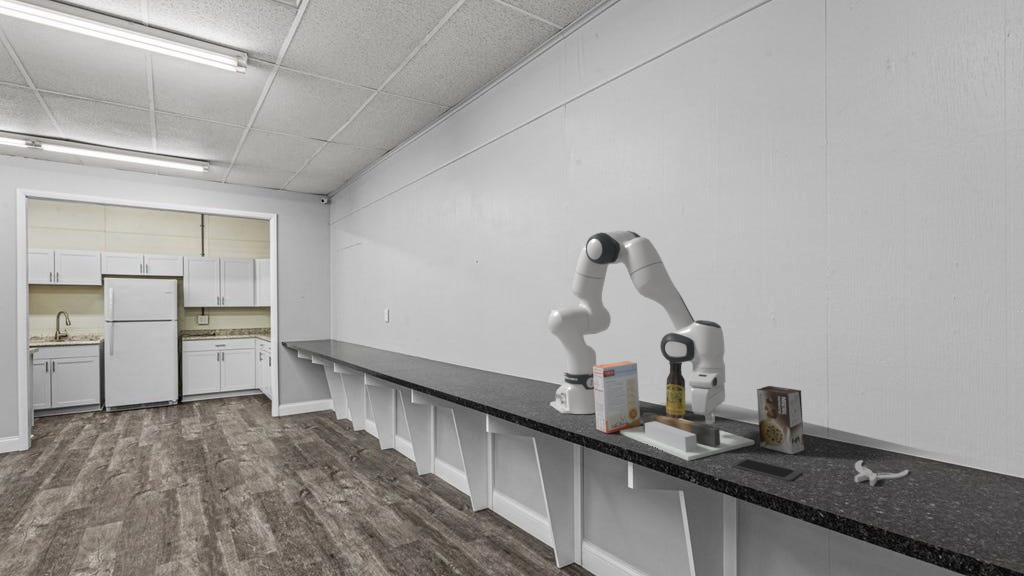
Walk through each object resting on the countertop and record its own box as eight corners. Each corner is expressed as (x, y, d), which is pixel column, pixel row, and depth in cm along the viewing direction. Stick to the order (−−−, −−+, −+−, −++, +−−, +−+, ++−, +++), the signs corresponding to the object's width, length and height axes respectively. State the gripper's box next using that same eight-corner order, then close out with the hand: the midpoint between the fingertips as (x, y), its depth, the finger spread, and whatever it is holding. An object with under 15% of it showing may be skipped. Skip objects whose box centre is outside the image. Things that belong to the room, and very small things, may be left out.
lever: (640, 428, 150) (640, 414, 150) (649, 426, 153) (649, 411, 153) (713, 447, 130) (712, 430, 130) (722, 443, 133) (721, 427, 133)
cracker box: (628, 422, 162) (626, 360, 162) (641, 427, 157) (638, 362, 157) (594, 429, 156) (592, 364, 156) (606, 434, 151) (603, 367, 151)
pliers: (909, 466, 113) (891, 484, 103) (910, 473, 113) (891, 492, 103) (859, 456, 120) (837, 472, 111) (859, 462, 120) (838, 479, 111)
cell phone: (790, 483, 110) (790, 480, 110) (730, 467, 120) (729, 464, 120) (803, 475, 114) (802, 471, 114) (744, 460, 125) (743, 457, 125)
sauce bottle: (664, 419, 165) (661, 360, 165) (669, 414, 170) (667, 358, 170) (683, 421, 161) (681, 361, 161) (688, 416, 167) (686, 359, 167)
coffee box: (805, 450, 130) (802, 390, 130) (791, 455, 126) (788, 393, 126) (772, 441, 137) (769, 385, 137) (758, 446, 134) (756, 388, 134)
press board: (620, 433, 151) (619, 417, 151) (680, 421, 161) (680, 406, 161) (688, 460, 125) (687, 441, 125) (754, 444, 136) (753, 426, 136)
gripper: (708, 369, 152) (709, 413, 152) (686, 381, 136) (687, 430, 136) (729, 371, 148) (731, 416, 148) (709, 383, 132) (711, 433, 132)
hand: (710, 423), depth 142 cm, fingers closed
